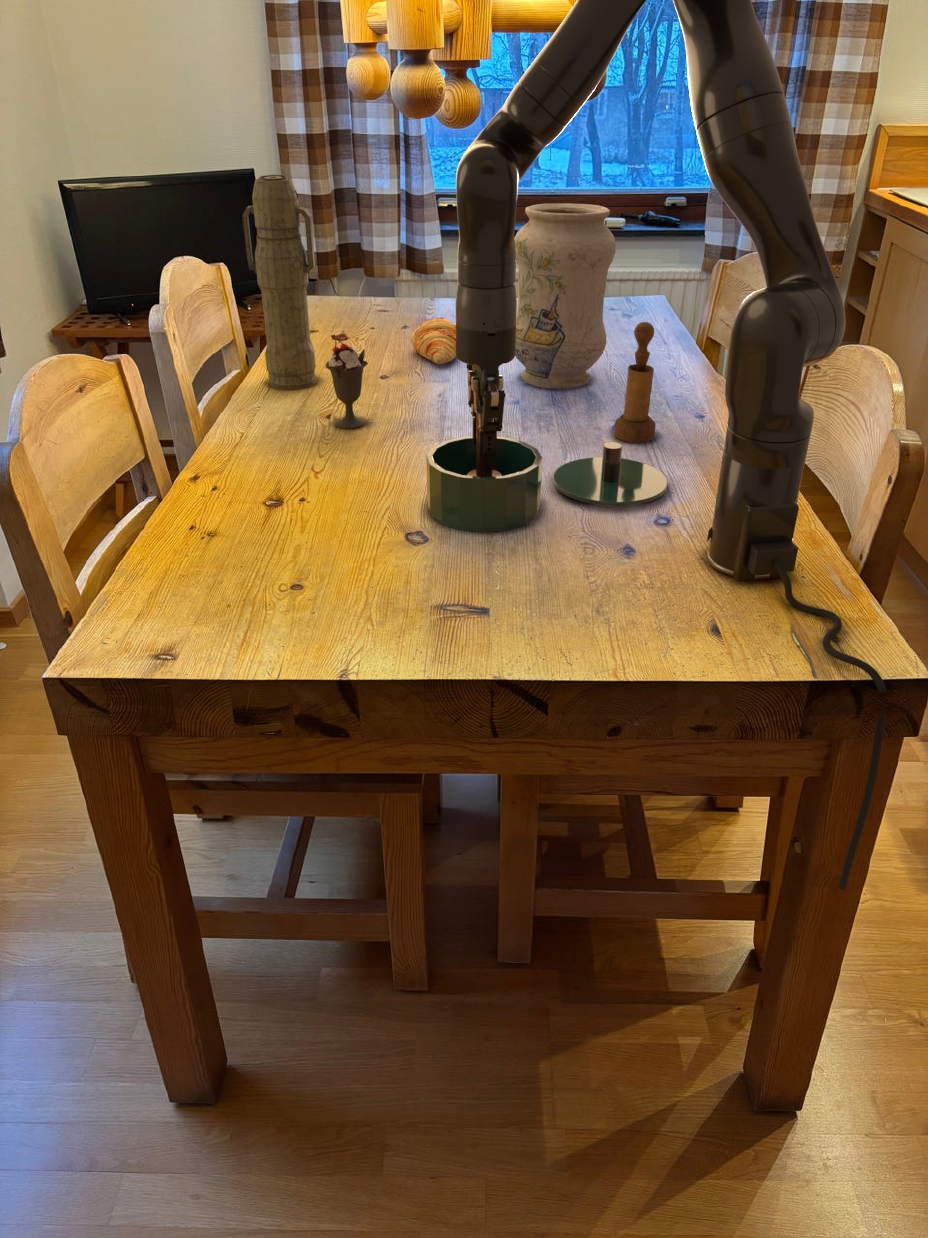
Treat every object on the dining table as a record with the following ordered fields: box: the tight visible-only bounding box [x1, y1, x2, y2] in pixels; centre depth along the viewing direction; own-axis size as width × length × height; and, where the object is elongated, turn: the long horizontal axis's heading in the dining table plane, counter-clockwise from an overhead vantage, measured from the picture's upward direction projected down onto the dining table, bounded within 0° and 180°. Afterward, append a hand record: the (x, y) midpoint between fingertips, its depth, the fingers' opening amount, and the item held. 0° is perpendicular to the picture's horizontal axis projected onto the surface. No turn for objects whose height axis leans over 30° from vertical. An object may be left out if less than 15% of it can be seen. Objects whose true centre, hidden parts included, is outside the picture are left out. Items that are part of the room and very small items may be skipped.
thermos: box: [241, 174, 317, 390], centre depth 170 cm, size 9×12×35 cm
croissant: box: [410, 317, 457, 365], centre depth 194 cm, size 21×10×8 cm, turn 7°
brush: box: [467, 404, 502, 477], centre depth 129 cm, size 5×5×14 cm
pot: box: [425, 435, 543, 533], centre depth 130 cm, size 15×15×8 cm
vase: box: [514, 203, 617, 390], centre depth 173 cm, size 18×18×30 cm
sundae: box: [325, 334, 369, 430], centre depth 157 cm, size 7×7×15 cm
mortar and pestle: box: [613, 321, 657, 444], centre depth 151 cm, size 7×6×18 cm
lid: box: [552, 441, 668, 507], centre depth 137 cm, size 16×16×6 cm
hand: (484, 450), depth 128 cm, fingers open, 4 cm apart
